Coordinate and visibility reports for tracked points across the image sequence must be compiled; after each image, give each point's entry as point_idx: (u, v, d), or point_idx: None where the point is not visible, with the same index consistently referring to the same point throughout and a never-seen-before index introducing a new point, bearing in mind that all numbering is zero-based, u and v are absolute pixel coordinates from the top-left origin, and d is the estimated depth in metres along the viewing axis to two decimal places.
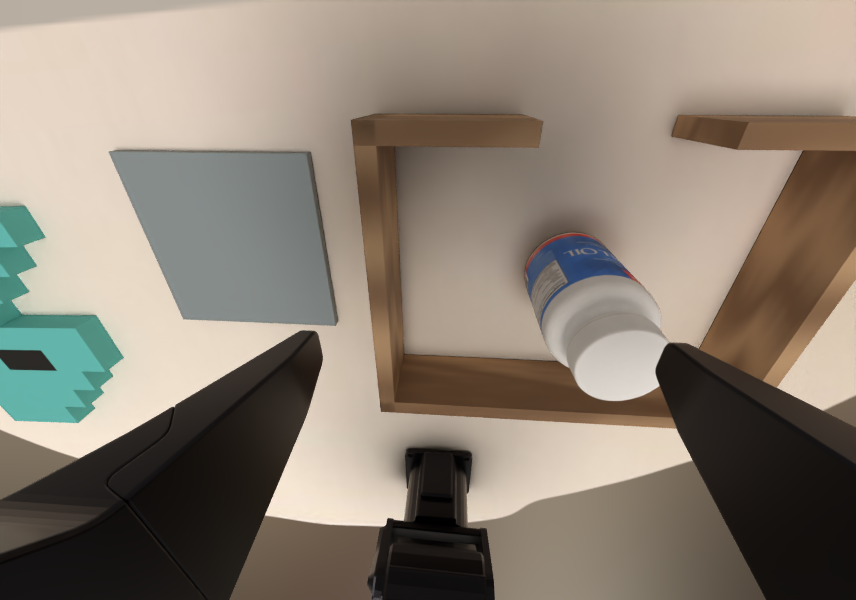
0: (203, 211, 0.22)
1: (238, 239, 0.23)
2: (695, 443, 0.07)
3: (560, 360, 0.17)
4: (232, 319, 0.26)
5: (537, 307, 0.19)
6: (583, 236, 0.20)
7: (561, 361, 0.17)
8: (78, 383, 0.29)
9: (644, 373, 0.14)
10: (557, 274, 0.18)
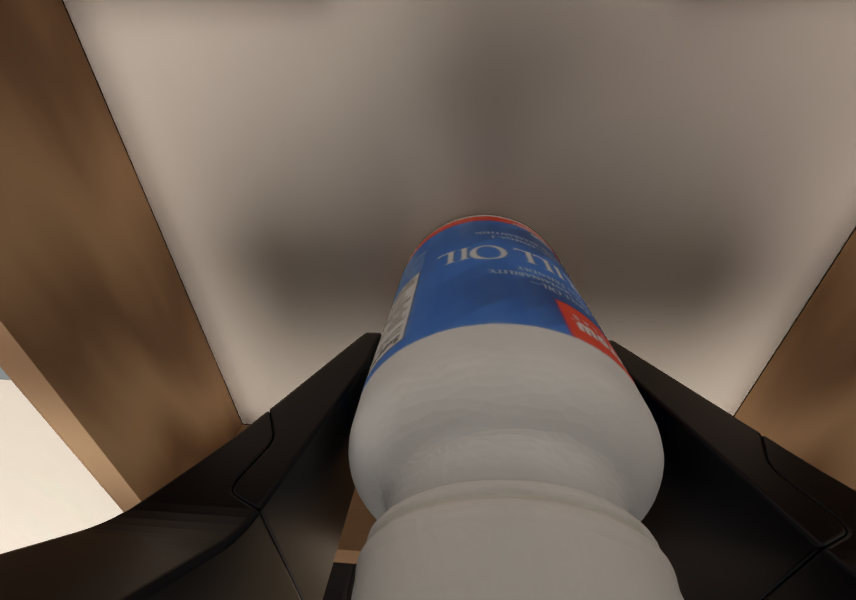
0: None
1: None
2: None
3: None
4: None
5: None
6: (497, 221, 0.10)
7: None
8: None
9: None
10: (402, 309, 0.07)
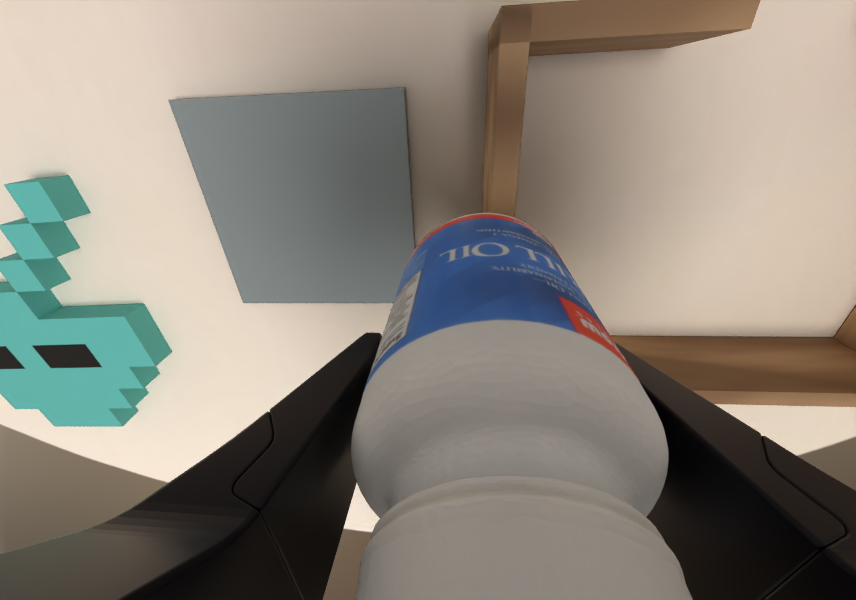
0: (274, 169, 0.19)
1: (313, 202, 0.19)
2: None
3: None
4: (298, 300, 0.23)
5: None
6: (498, 219, 0.10)
7: None
8: (124, 381, 0.27)
9: None
10: (404, 307, 0.07)
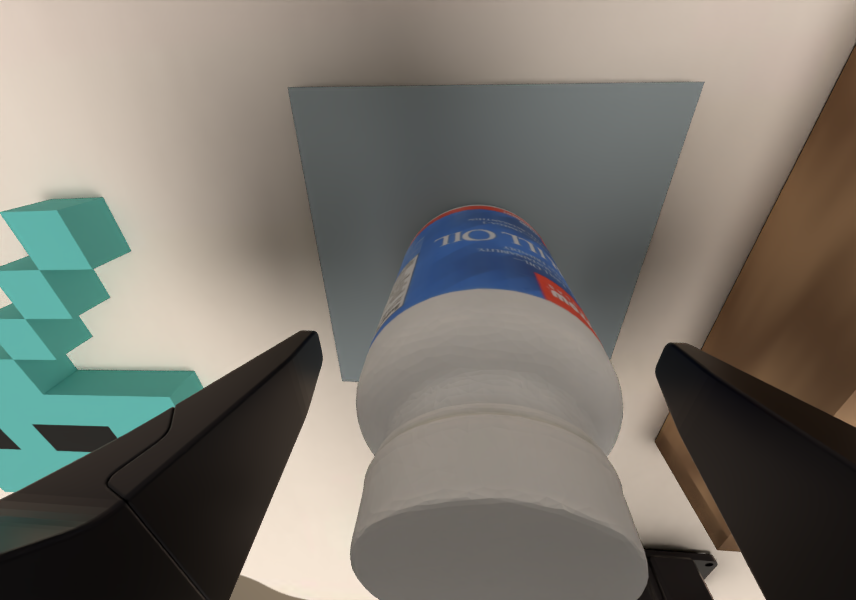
0: (439, 204, 0.12)
1: None
2: (695, 443, 0.07)
3: None
4: None
5: None
6: (488, 210, 0.11)
7: None
8: None
9: (557, 595, 0.05)
10: (402, 285, 0.08)
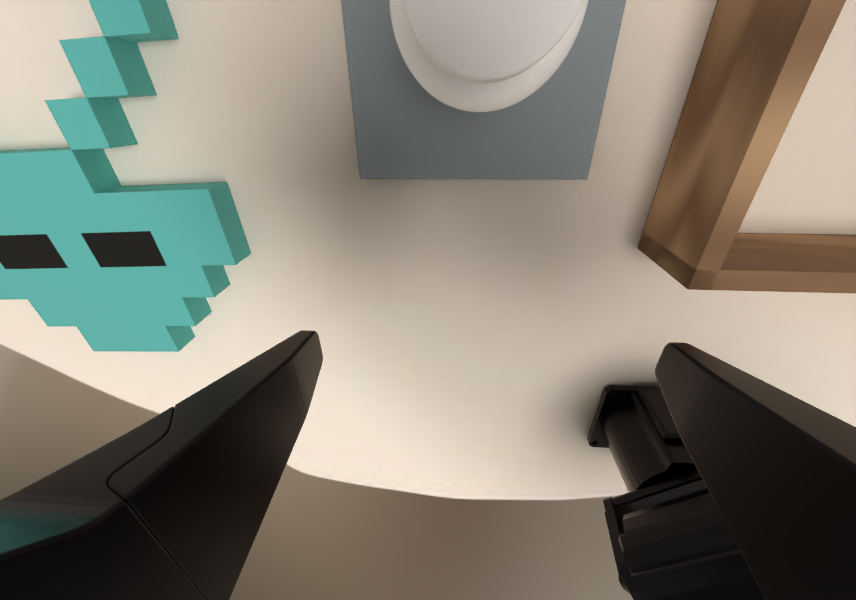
0: None
1: None
2: (695, 443, 0.07)
3: (423, 75, 0.10)
4: (433, 175, 0.18)
5: None
6: None
7: (425, 78, 0.10)
8: (192, 286, 0.22)
9: None
10: None
